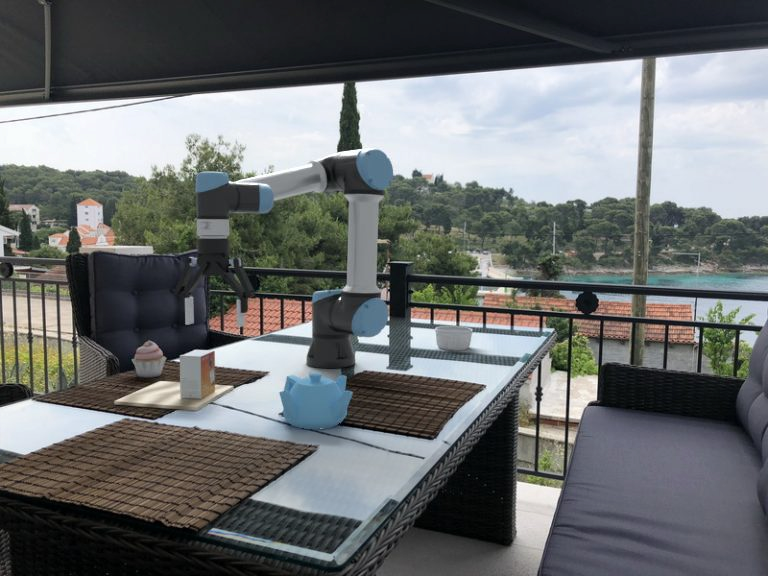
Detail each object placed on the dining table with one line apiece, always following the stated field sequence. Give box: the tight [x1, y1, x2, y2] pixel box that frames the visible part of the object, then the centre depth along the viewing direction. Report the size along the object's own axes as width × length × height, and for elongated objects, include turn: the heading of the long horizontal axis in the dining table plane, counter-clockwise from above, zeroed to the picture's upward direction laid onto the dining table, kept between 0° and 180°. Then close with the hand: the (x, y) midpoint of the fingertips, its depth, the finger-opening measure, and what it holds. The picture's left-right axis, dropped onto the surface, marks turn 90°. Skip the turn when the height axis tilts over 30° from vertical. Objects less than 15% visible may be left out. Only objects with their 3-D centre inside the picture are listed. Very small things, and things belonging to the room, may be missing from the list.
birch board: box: [113, 380, 234, 411], centre depth 157 cm, size 21×20×1 cm
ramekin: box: [434, 325, 474, 351], centre depth 225 cm, size 13×13×7 cm
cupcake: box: [131, 340, 167, 379], centre depth 178 cm, size 9×9×10 cm
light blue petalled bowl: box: [279, 372, 354, 430], centre depth 139 cm, size 15×15×11 cm
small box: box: [179, 349, 216, 399], centre depth 156 cm, size 8×6×10 cm
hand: (215, 325), depth 154 cm, fingers open, 13 cm apart
